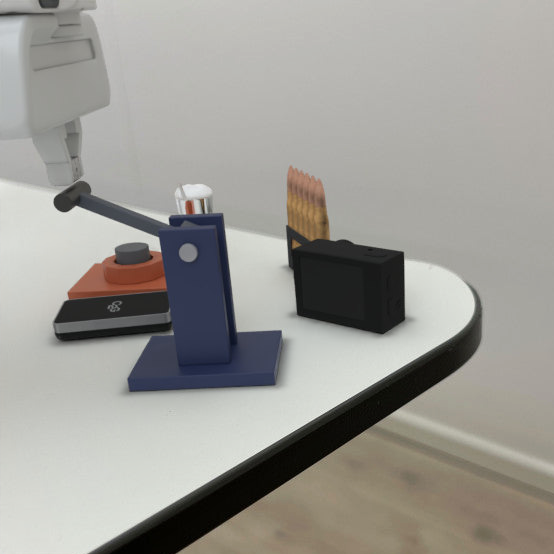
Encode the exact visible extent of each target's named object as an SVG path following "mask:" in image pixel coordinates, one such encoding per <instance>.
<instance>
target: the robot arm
mask: <svg viewBox="0 0 554 554" xmlns="http://www.w3.org/2000/svg"><path fill="white" fill-rule="evenodd" d="M97 8H98V4H97V0H0V141H10V140H11V141H12V140H26V139H32V143H33V146H34V147H35V149H36V151H37V152H38V154H39V156H40V158H41V160H42V162H43V163H44V164H45V169H46V173H47V174H46V175H47V179H48V181H49V183H50V185H51V186H52V187H67V186H69V187H70V186H71V185H73V184H74V183H76V182H78V181H79V180H80V179H81V178H83V177H84V175H85V172H84V166H83V162H82V161H83V160H82V157H81V156H82V145H83V127H82V122H81V118H82V117H85V116H87V115H89V114H92V113H94V112H96V111H99V110H101V109H104V108H106V107H109V105H110V103H111V84H110V79H109V74H108V70H107V65H106V60H105V56H104V51H103V48H102V46H103V45H102V41H101V38H100V34H99V31H98V28H97V25H96V22H95V20H94V18H93V16H92V15H90V14H89V13H87V12H85V11H95V10H97Z"/></svg>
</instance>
